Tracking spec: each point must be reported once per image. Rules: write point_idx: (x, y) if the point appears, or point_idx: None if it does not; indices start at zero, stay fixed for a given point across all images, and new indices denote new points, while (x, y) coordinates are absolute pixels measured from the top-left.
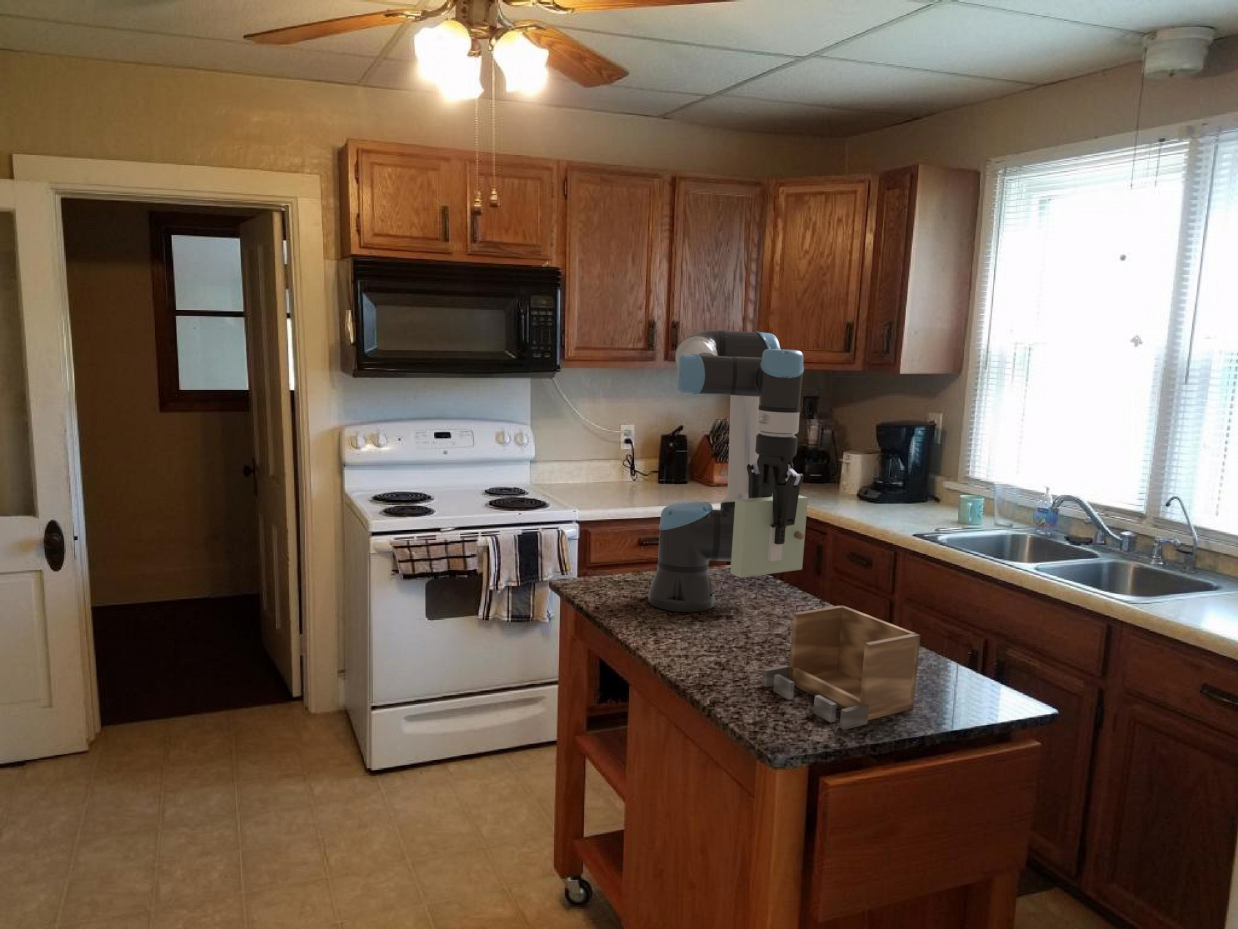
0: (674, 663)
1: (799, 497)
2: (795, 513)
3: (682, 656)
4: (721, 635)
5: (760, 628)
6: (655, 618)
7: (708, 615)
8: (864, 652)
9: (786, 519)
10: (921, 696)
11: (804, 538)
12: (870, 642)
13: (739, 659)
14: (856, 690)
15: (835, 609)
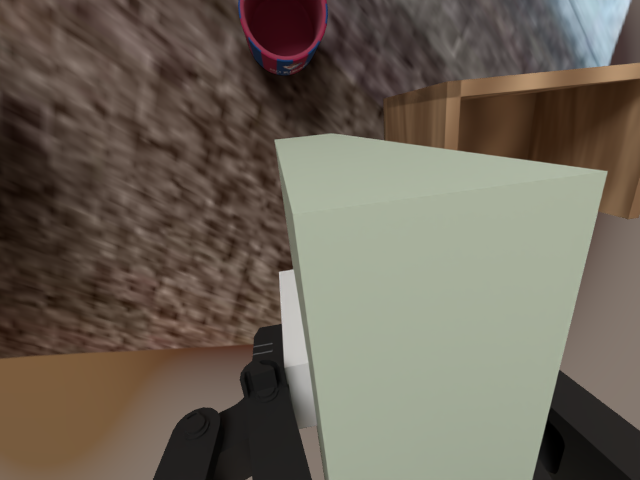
0: (266, 323)
1: (527, 322)
2: (606, 410)
3: (242, 302)
4: (151, 195)
5: (115, 85)
6: (29, 271)
7: (5, 154)
8: (610, 214)
9: (553, 431)
10: (519, 23)
11: (365, 138)
12: (633, 207)
13: (277, 227)
14: (471, 138)
15: (457, 123)
